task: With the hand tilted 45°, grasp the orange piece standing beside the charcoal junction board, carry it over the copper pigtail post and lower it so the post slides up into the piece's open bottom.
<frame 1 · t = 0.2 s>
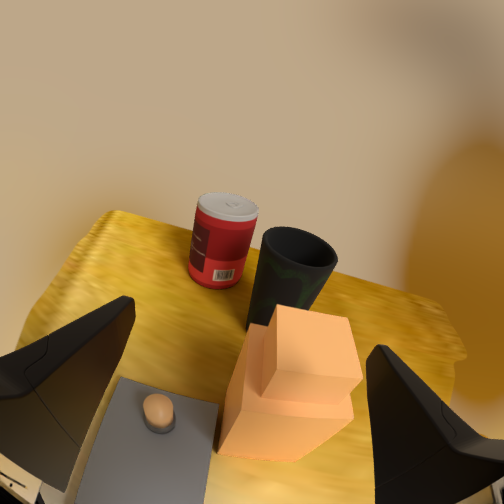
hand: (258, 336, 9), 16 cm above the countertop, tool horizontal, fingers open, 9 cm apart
canned food: (214, 274, 39), on the countertop
cup: (268, 330, 32), on the countertop
junction board: (147, 475, 14), on the countertop
orange piece: (259, 427, 21), on the countertop
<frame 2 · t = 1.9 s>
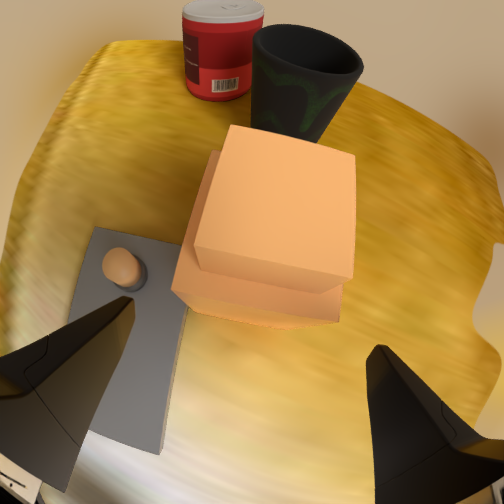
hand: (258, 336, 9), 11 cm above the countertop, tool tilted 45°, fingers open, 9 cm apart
canned food: (219, 85, 28), on the countertop
cup: (278, 150, 25), on the countertop
junction board: (122, 340, 18), on the countertop
orange piece: (248, 278, 21), on the countertop
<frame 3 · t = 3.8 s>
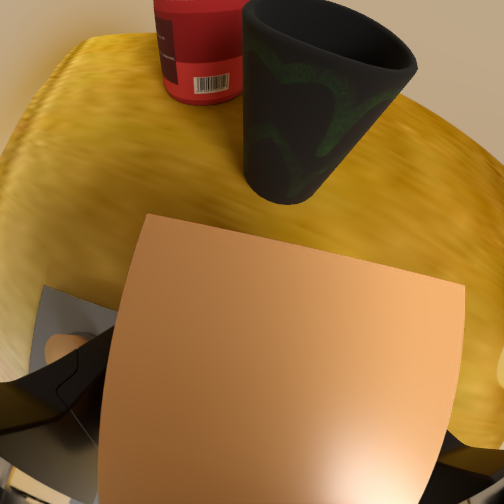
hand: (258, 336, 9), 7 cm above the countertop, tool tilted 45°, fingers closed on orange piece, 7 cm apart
canned food: (207, 84, 22), on the countertop
cup: (281, 172, 19), on the countertop
junction board: (90, 422, 12), on the countertop
orange piece: (239, 359, 15), on the countertop, touching gripper
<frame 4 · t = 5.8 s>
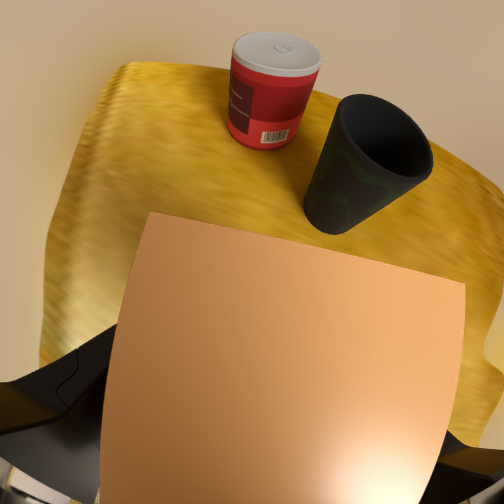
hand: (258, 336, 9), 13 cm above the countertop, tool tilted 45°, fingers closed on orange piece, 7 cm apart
canned food: (261, 128, 29), on the countertop
cup: (329, 209, 26), on the countertop
orange piece: (239, 358, 15), point 7 cm above the countertop, touching gripper
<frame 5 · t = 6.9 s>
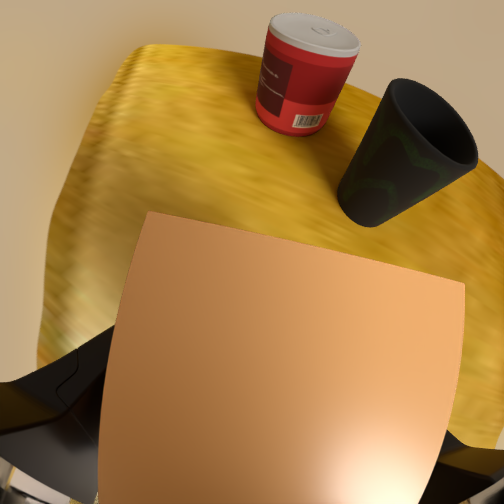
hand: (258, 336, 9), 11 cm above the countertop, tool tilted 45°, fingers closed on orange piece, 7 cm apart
canned food: (290, 114, 26), on the countertop
cup: (362, 200, 24), on the countertop
orange piece: (239, 358, 15), point 4 cm above the countertop, touching gripper
when the fingers open (9 cm above the countertop, at t = 7.9 s): orange piece stays where it is, resting on junction board.
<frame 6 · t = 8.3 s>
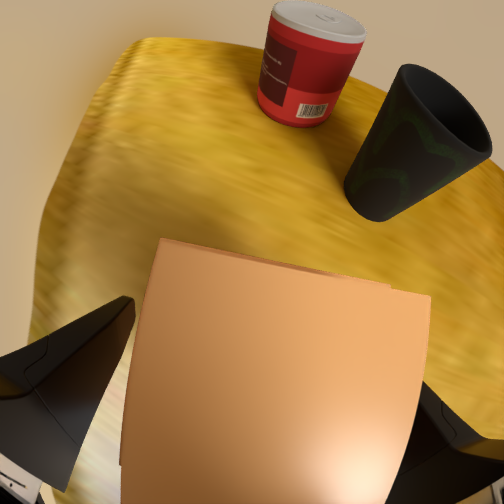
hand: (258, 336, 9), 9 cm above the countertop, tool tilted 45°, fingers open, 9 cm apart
canned food: (293, 105, 25), on the countertop
cup: (370, 194, 22), on the countertop
orange piece: (238, 357, 16), point 1 cm above the countertop, touching junction board
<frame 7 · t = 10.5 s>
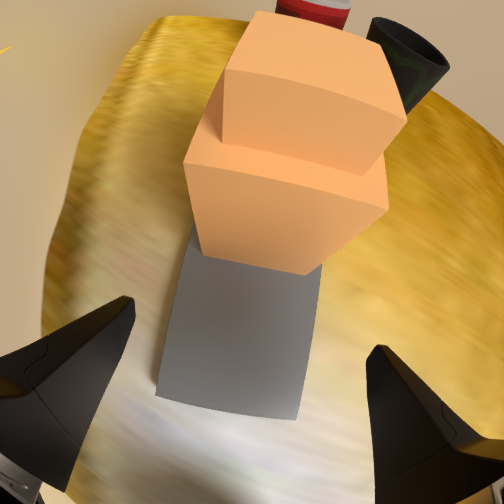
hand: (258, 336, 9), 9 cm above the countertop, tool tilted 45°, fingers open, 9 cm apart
canned food: (296, 62, 28), on the countertop
cup: (363, 123, 25), on the countertop
junction board: (247, 293, 18), on the countertop
orange piece: (263, 218, 19), point 1 cm above the countertop, touching junction board
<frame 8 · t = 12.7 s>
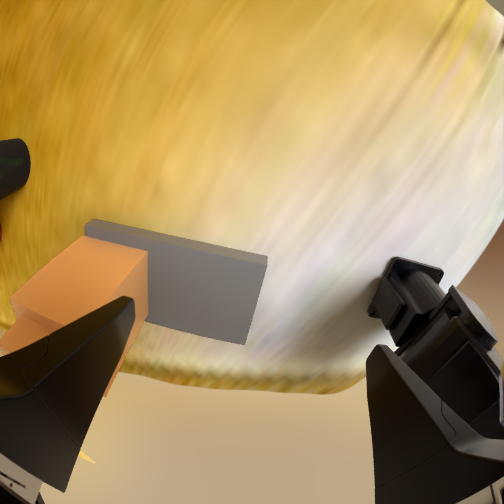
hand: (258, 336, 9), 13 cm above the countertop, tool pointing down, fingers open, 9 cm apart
cup: (17, 162, 19), on the countertop
junction board: (169, 280, 24), on the countertop
orange piece: (114, 276, 22), point 1 cm above the countertop, touching junction board
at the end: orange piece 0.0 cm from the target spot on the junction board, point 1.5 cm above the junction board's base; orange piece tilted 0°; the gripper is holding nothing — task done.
